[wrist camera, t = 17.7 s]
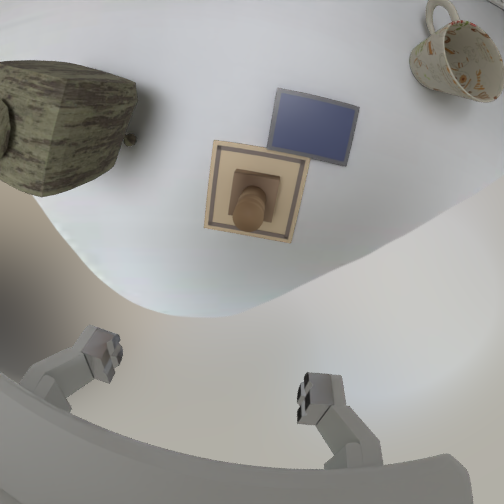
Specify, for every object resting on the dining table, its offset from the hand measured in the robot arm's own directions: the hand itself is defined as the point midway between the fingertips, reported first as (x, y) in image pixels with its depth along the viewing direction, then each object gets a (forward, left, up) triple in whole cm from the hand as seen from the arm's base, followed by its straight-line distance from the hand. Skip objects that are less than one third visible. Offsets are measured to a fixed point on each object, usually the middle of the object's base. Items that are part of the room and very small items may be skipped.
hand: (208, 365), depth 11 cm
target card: (0, 0, -25) cm, 25 cm away
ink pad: (-5, -9, -25) cm, 27 cm away
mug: (-17, -23, -25) cm, 38 cm away
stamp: (0, 0, -25) cm, 25 cm away
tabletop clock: (+20, -9, -25) cm, 33 cm away
